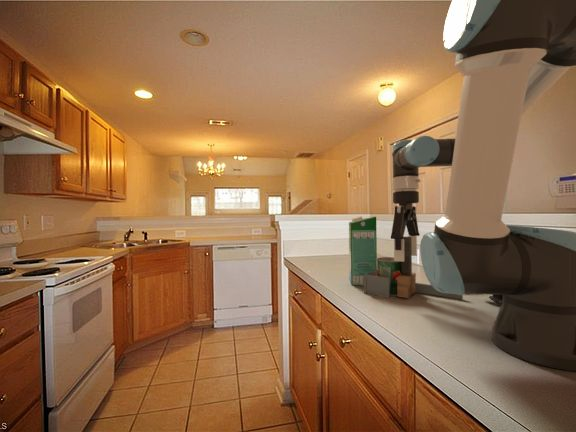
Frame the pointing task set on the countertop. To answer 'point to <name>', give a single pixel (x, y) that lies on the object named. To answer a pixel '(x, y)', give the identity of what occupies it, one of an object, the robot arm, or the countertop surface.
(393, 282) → the canned tomato
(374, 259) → the milk carton
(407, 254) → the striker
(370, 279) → the frame
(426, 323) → the countertop surface
